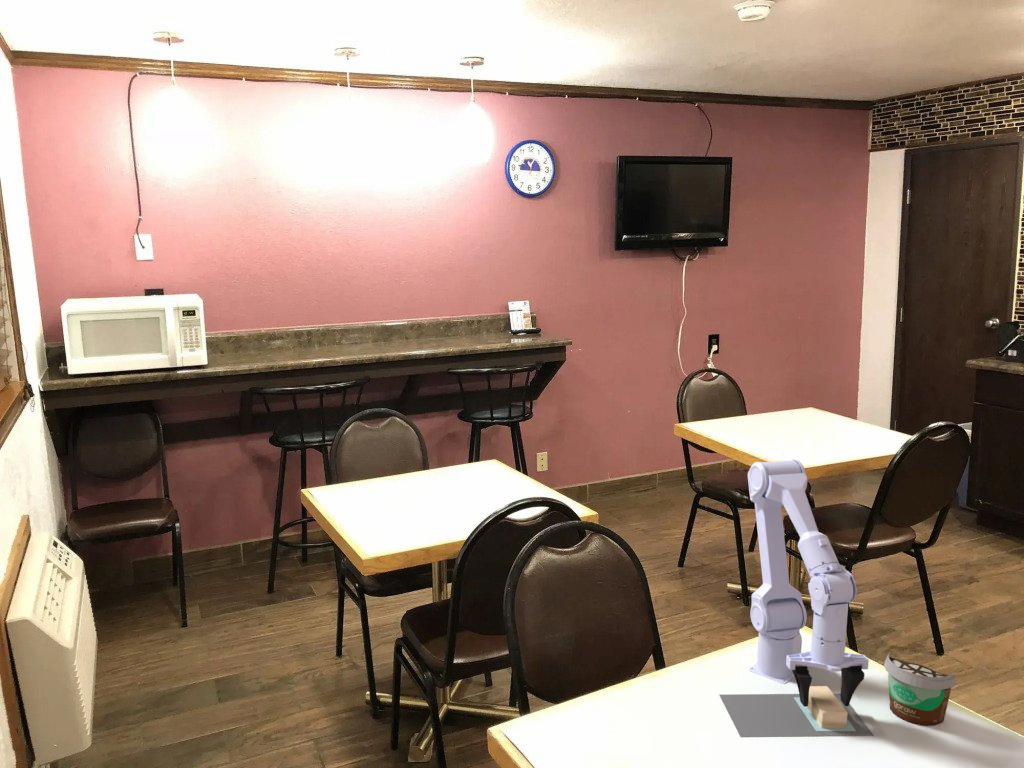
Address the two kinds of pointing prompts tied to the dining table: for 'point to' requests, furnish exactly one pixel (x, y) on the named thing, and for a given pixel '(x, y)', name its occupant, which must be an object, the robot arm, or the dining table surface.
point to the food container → (918, 692)
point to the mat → (784, 717)
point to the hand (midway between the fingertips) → (824, 703)
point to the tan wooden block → (826, 708)
